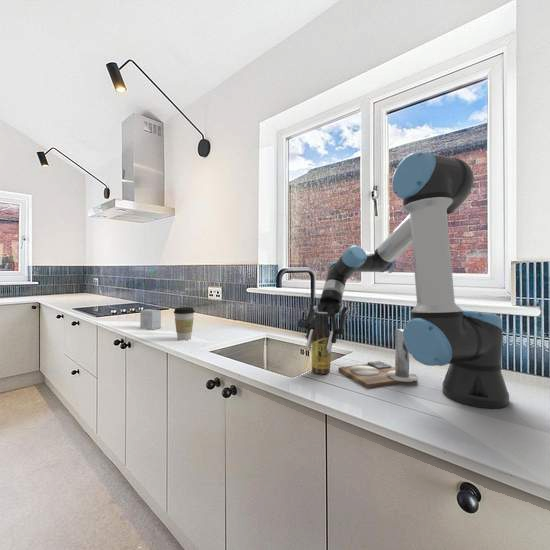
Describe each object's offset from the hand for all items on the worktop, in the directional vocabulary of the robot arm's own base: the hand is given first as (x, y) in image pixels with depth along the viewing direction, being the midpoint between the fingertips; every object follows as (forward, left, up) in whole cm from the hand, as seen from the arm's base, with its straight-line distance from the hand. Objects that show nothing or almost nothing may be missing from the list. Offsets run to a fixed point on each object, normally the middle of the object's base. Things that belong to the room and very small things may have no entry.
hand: (318, 349), depth 100 cm
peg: (-12, -23, -7) cm, 27 cm away
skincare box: (+102, +55, -9) cm, 116 cm away
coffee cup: (+67, +38, -9) cm, 77 cm away
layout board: (-8, -18, -8) cm, 21 cm away
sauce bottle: (+3, -3, -9) cm, 9 cm away
